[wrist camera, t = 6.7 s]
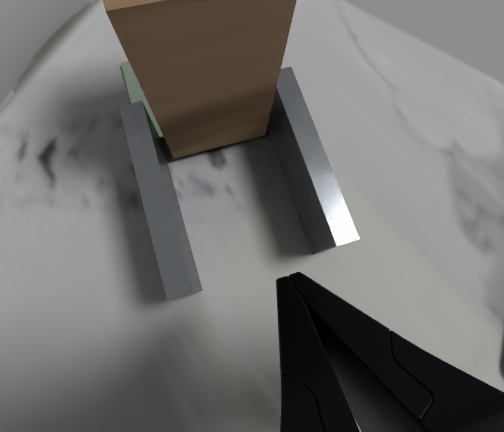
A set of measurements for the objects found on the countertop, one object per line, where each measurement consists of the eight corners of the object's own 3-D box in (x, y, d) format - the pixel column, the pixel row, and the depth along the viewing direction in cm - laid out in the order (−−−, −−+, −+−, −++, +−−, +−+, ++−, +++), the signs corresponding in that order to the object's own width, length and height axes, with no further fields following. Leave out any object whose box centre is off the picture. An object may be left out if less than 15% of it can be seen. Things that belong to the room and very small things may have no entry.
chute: (331, 248, 18) (359, 238, 14) (182, 296, 17) (166, 301, 13) (252, 38, 21) (257, -18, 17) (121, 65, 20) (95, 11, 16)
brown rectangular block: (265, 135, 19) (302, -25, 9) (173, 158, 18) (105, 10, 8) (237, 58, 20) (244, -157, 10) (151, 77, 19) (67, -137, 9)
